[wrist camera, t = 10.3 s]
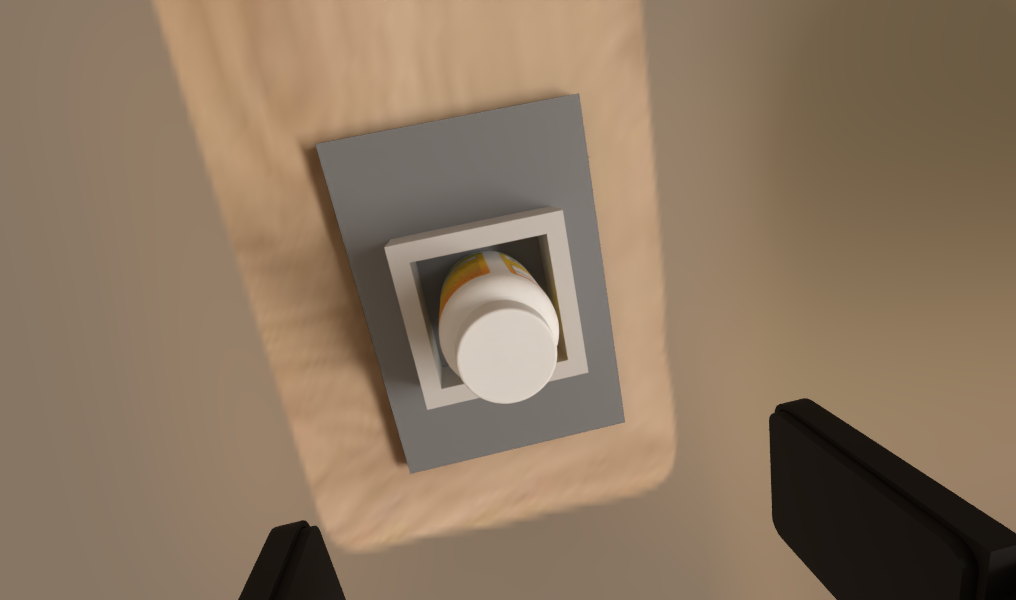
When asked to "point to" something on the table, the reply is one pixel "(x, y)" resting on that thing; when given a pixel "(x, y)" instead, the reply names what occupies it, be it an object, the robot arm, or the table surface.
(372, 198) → the cup holder
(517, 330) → the supplement bottle
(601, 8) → the table surface
